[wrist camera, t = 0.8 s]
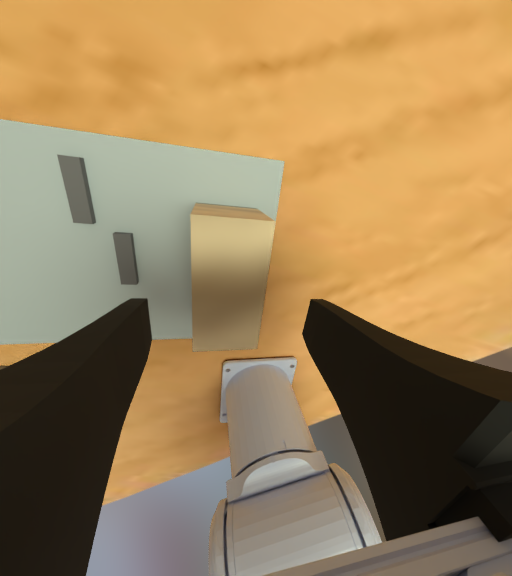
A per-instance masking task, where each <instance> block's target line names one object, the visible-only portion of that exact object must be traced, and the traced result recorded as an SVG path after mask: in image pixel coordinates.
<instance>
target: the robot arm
mask: <svg viewBox="0 0 512 576" xmlns="http://www.w3.org/2000/svg"><path fill="white" fill-rule="evenodd" d="M302 335H303V338H304V340H305V343H306V346H307V348H308V351H309V353H310V355H311V357H312V359H313V361H314V362H315V364H316V366H317V368H318V370H319V372H320V373H321V375H322V377H323V379H324V381H325V382H326V384H327V386H328V388H329V390H330V391H331V393H332V395H333V397H334V399H335V401H336V403H337V405H338V407H339V410H340V412H341V414H342V417H343V419H344V421H345V424H346V426H347V428H348V431H349V433H350V436H351V438H352V441H353V443H354V446H355V449H356V451H357V454H358V456H359V459H360V462H361V465H362V468H363V470H364V473H365V476H366V478H367V482H368V484H369V487H370V490H371V493H372V496H373V499H374V503H375V506H376V509H377V512H378V515H379V518H380V521H381V524H382V528H383V531H384V534H385V537H386V542H383V543H382V541H381V539H380V536H379V533H378V531H377V528H376V526H375V524H374V521H373V519H372V517H371V514H370V512H369V510H368V508H367V506H366V504H365V502H364V499H363V497H362V496H361V494H360V492H359V490H358V488H357V486H356V484H355V483H354V481H353V479H352V478H351V477H350V475H349V474H348V473H347V472H346V471H345V470H343V469H342V468H340V467H339V466H338V465H337V464H336V463H332V464H329V465H328V464H327V462H326V459H325V457H324V455H323V452H322V451H317V450H316V447H315V444H314V442H313V439H312V437H311V434H310V432H309V429H308V427H307V424H306V421H305V419H304V416H303V414H302V411H301V409H300V406H299V404H298V401H297V399H296V396H295V393H294V391H293V388H292V386H291V385H292V381H293V377H294V373H295V369H296V365H297V360H296V358H295V357H287V358H268V359H250V360H232V361H225V362H224V363H223V371H222V387H221V404H220V422H221V423H227V422H228V434H229V447H230V460H231V472H232V479H230V480H228V481H227V482H226V483H227V498H225V499H222V500H221V501H220V502H219V504H218V506H217V509H216V511H215V514H214V516H213V519H212V522H211V527H210V536H209V576H512V372H508V371H503V370H499V369H495V368H491V367H488V366H484V365H481V364H477V363H474V362H470V361H467V360H463V359H460V358H457V357H454V356H451V355H448V354H445V353H442V352H439V351H436V350H433V349H430V348H427V347H424V346H422V345H419V344H417V343H414V342H412V341H409V340H407V339H404V338H402V337H399V336H397V335H395V334H392V333H390V332H388V331H386V330H384V329H382V328H380V327H378V326H375V325H373V324H371V323H369V322H367V321H365V320H364V319H362V318H360V317H358V316H356V315H354V314H352V313H350V312H348V311H346V310H344V309H343V308H341V307H339V306H337V305H335V304H333V303H331V302H328V301H326V300H323V299H311V301H310V305H309V309H308V313H307V317H306V321H305V325H304V329H303V333H302ZM151 341H152V333H151V325H150V316H149V307H148V299H147V298H131V299H129V300H127V301H125V302H123V303H122V304H120V305H119V306H117V307H116V308H114V309H112V310H111V311H109V312H108V313H106V314H105V315H103V316H101V317H100V318H98V319H97V320H95V321H94V322H92V323H90V324H89V325H87V326H85V327H83V328H82V329H80V330H78V331H77V332H75V333H73V334H71V335H70V336H68V337H66V338H64V339H63V340H61V341H59V342H57V343H55V344H53V345H51V346H50V347H48V348H46V349H44V350H42V351H40V352H38V353H35V354H33V355H31V356H29V357H27V358H25V359H23V360H21V361H19V362H17V363H14V364H12V365H10V366H8V367H5V368H3V369H1V370H0V576H86V572H87V567H88V563H89V559H90V554H91V549H92V545H93V540H94V536H95V532H96V528H97V524H98V519H99V515H100V511H101V507H102V503H103V498H104V494H105V490H106V486H107V483H108V479H109V475H110V471H111V467H112V463H113V459H114V455H115V452H116V448H117V445H118V441H119V437H120V434H121V430H122V427H123V424H124V421H125V418H126V415H127V412H128V409H129V407H130V404H131V401H132V399H133V396H134V394H135V391H136V388H137V386H138V383H139V381H140V378H141V375H142V373H143V370H144V367H145V365H146V362H147V359H148V355H149V351H150V346H151Z"/></svg>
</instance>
